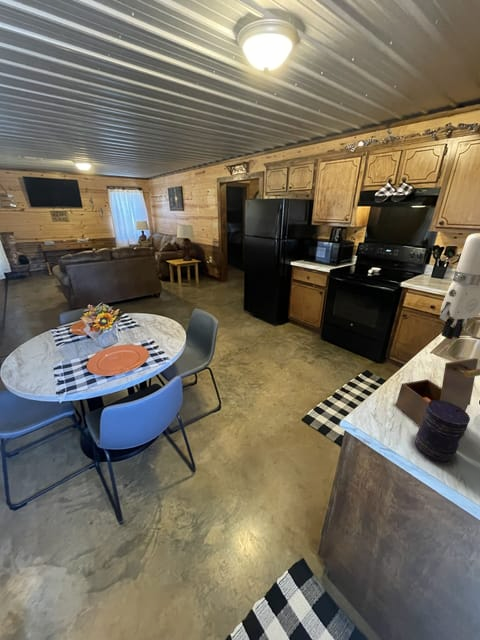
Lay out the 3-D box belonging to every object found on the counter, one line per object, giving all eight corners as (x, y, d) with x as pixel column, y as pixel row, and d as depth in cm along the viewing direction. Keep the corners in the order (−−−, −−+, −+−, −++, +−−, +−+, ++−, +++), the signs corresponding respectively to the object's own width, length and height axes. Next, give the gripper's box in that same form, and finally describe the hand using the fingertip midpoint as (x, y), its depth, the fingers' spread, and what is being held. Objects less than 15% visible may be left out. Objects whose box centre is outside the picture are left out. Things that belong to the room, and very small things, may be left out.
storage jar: (429, 465, 75) (445, 425, 69) (406, 437, 84) (419, 400, 78) (461, 463, 76) (480, 423, 70) (436, 436, 85) (450, 398, 79)
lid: (445, 362, 78) (462, 369, 73) (475, 358, 80) (493, 363, 76) (438, 409, 81) (454, 418, 77) (467, 403, 84) (484, 411, 79)
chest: (395, 405, 98) (401, 383, 94) (420, 400, 101) (427, 379, 97) (430, 435, 85) (439, 411, 81) (458, 428, 88) (468, 405, 84)
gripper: (461, 283, 69) (440, 345, 77) (506, 280, 73) (482, 339, 80) (436, 277, 76) (418, 334, 83) (477, 274, 80) (457, 329, 87)
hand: (450, 336), depth 82 cm, fingers closed
